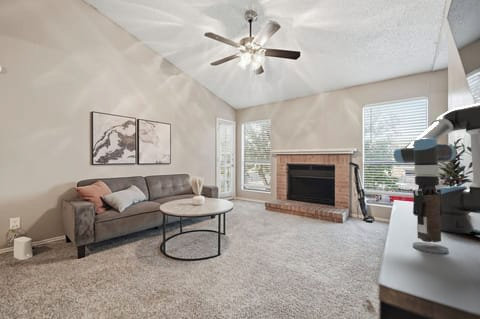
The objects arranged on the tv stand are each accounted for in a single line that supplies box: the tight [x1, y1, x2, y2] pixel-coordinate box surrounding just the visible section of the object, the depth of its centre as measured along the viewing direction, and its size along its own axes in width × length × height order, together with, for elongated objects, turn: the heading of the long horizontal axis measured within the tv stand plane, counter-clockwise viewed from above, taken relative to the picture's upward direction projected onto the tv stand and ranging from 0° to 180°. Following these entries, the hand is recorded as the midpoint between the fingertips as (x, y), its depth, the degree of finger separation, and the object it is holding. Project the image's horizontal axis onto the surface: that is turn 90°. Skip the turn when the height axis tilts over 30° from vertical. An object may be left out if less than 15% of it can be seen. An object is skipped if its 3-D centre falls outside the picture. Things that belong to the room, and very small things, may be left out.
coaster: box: [412, 241, 449, 255], centre depth 89 cm, size 11×11×1 cm
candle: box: [416, 193, 442, 243], centre depth 90 cm, size 8×7×20 cm
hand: (429, 231), depth 90 cm, fingers closed on candle, 7 cm apart
